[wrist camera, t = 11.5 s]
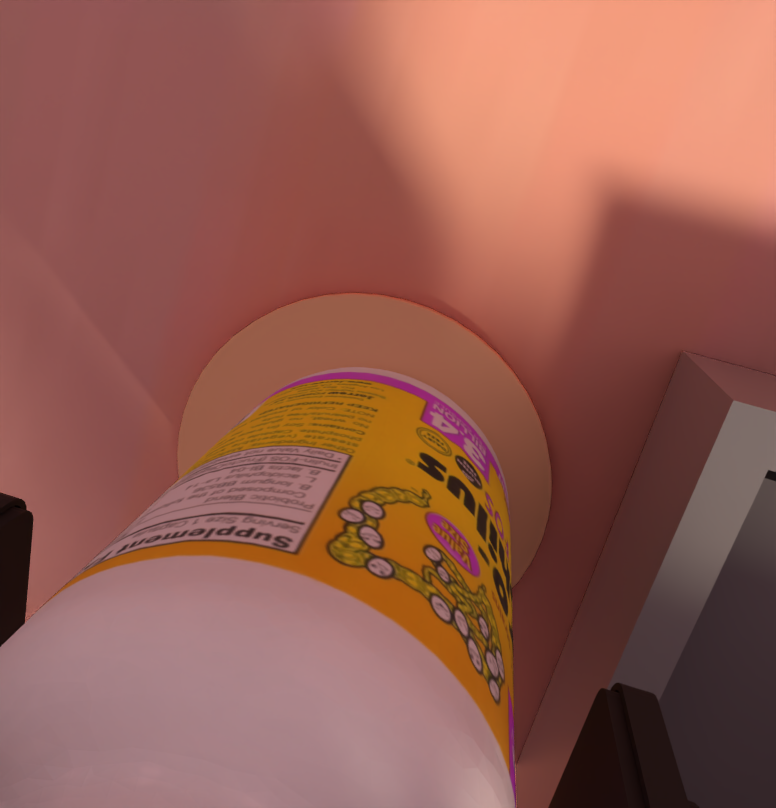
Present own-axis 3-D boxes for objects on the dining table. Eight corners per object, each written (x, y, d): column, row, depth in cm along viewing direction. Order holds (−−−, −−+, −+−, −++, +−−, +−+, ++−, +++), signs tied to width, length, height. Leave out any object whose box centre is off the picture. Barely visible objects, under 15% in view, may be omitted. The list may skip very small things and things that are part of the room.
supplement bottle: (527, 603, 17) (593, 1661, 5) (270, 623, 18) (-174, 1493, 6) (486, 334, 15) (427, 979, 3) (203, 378, 16) (-617, 947, 4)
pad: (605, 353, 15) (607, 358, 15) (488, 678, 18) (487, 688, 18) (213, 247, 16) (206, 248, 15) (162, 578, 19) (155, 586, 19)
